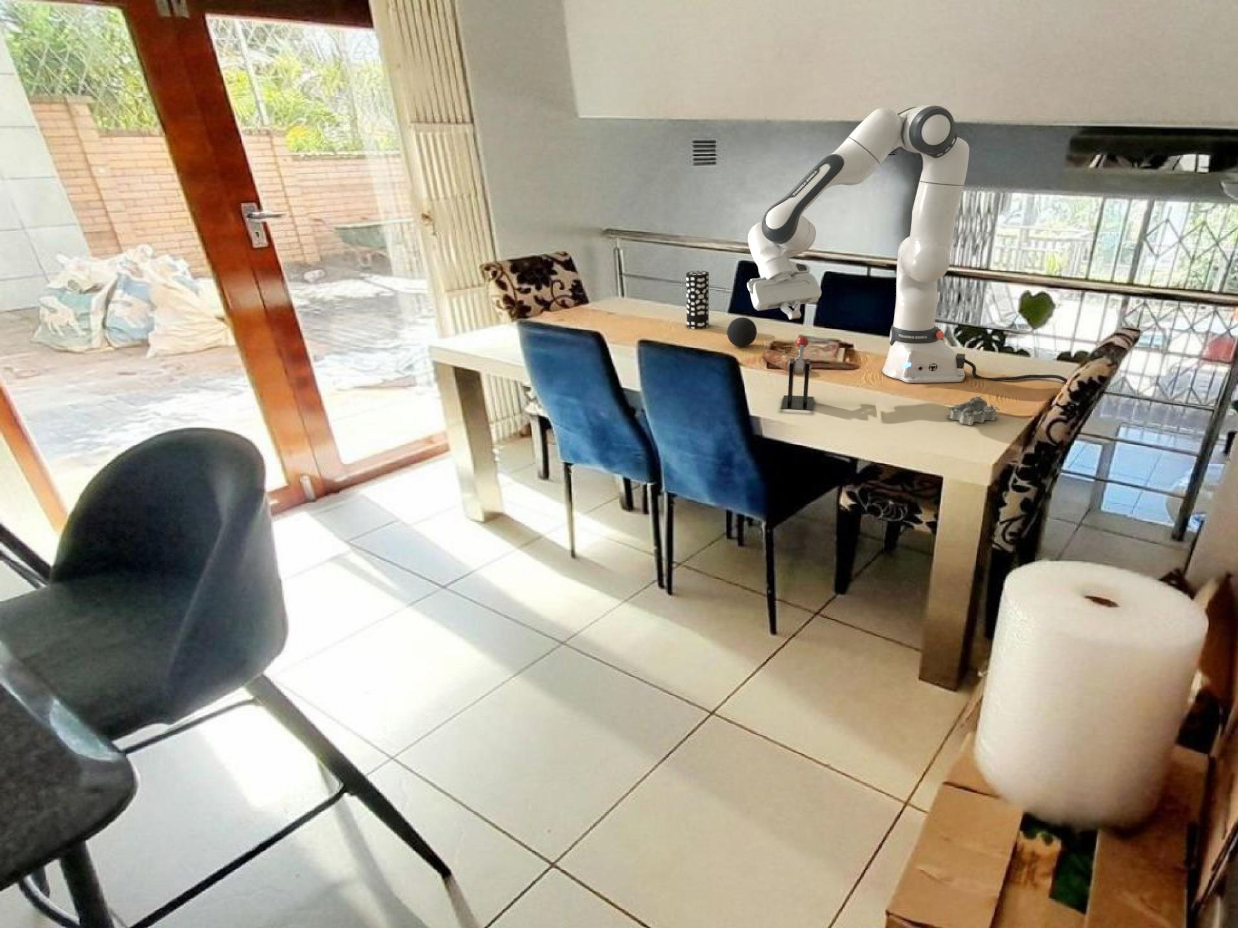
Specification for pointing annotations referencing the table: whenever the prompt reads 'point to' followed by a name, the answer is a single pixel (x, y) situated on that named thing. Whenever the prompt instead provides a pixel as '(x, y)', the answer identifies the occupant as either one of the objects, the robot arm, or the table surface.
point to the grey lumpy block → (973, 411)
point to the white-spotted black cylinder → (697, 299)
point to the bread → (780, 359)
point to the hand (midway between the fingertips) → (795, 317)
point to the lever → (801, 355)
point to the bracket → (798, 401)
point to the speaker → (741, 332)
